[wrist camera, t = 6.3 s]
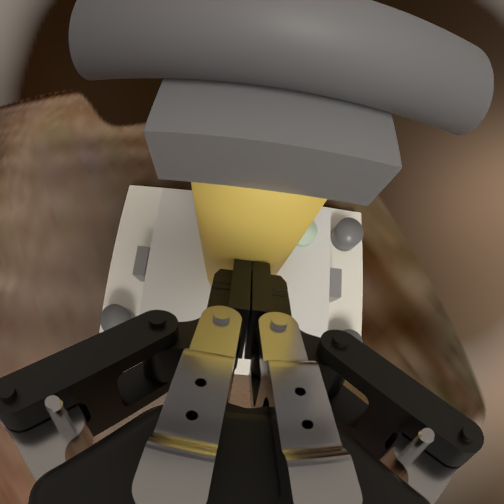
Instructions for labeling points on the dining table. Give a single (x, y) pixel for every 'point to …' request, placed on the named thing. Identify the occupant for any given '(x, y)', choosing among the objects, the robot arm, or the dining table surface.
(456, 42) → the yellow column stand
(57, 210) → the dining table surface
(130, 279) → the base
